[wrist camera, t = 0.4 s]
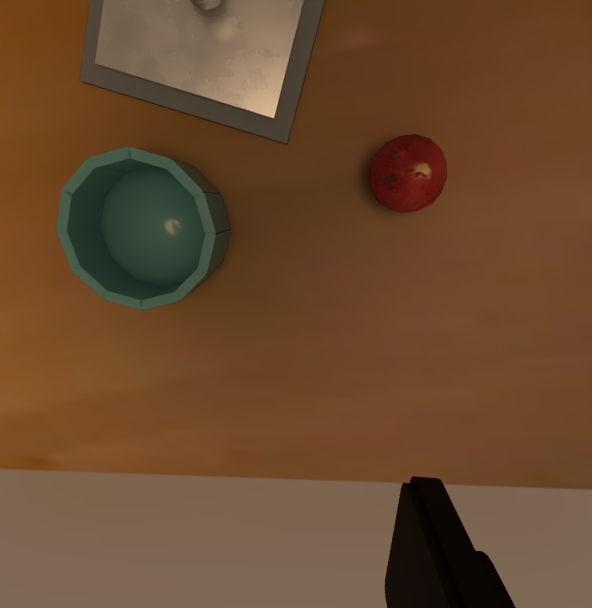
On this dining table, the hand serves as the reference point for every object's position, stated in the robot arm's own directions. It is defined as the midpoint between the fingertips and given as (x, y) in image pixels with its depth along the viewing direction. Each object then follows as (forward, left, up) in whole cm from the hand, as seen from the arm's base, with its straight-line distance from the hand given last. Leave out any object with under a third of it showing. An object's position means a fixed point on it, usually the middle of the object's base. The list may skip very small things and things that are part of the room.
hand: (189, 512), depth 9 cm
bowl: (-1, -11, -29) cm, 31 cm away
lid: (-20, -11, -29) cm, 37 cm away
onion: (-11, +8, -29) cm, 32 cm away
